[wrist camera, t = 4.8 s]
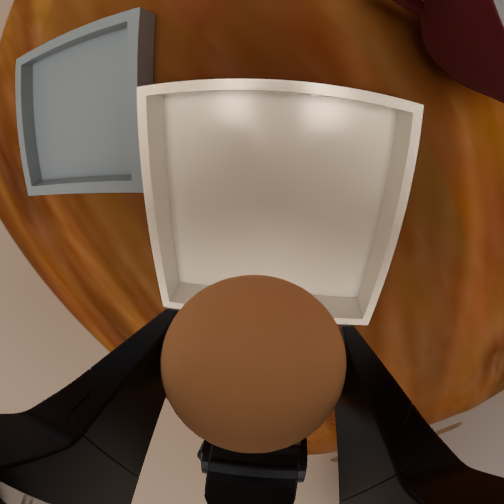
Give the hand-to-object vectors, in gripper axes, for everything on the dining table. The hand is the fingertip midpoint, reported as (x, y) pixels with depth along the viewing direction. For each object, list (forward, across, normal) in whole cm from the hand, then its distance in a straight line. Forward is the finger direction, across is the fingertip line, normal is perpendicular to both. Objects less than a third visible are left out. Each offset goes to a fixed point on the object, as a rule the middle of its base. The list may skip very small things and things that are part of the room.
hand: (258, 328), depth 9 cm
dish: (+11, 0, 0) cm, 11 cm away
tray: (+11, +14, -7) cm, 19 cm away
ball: (-2, 0, 0) cm, 2 cm away
